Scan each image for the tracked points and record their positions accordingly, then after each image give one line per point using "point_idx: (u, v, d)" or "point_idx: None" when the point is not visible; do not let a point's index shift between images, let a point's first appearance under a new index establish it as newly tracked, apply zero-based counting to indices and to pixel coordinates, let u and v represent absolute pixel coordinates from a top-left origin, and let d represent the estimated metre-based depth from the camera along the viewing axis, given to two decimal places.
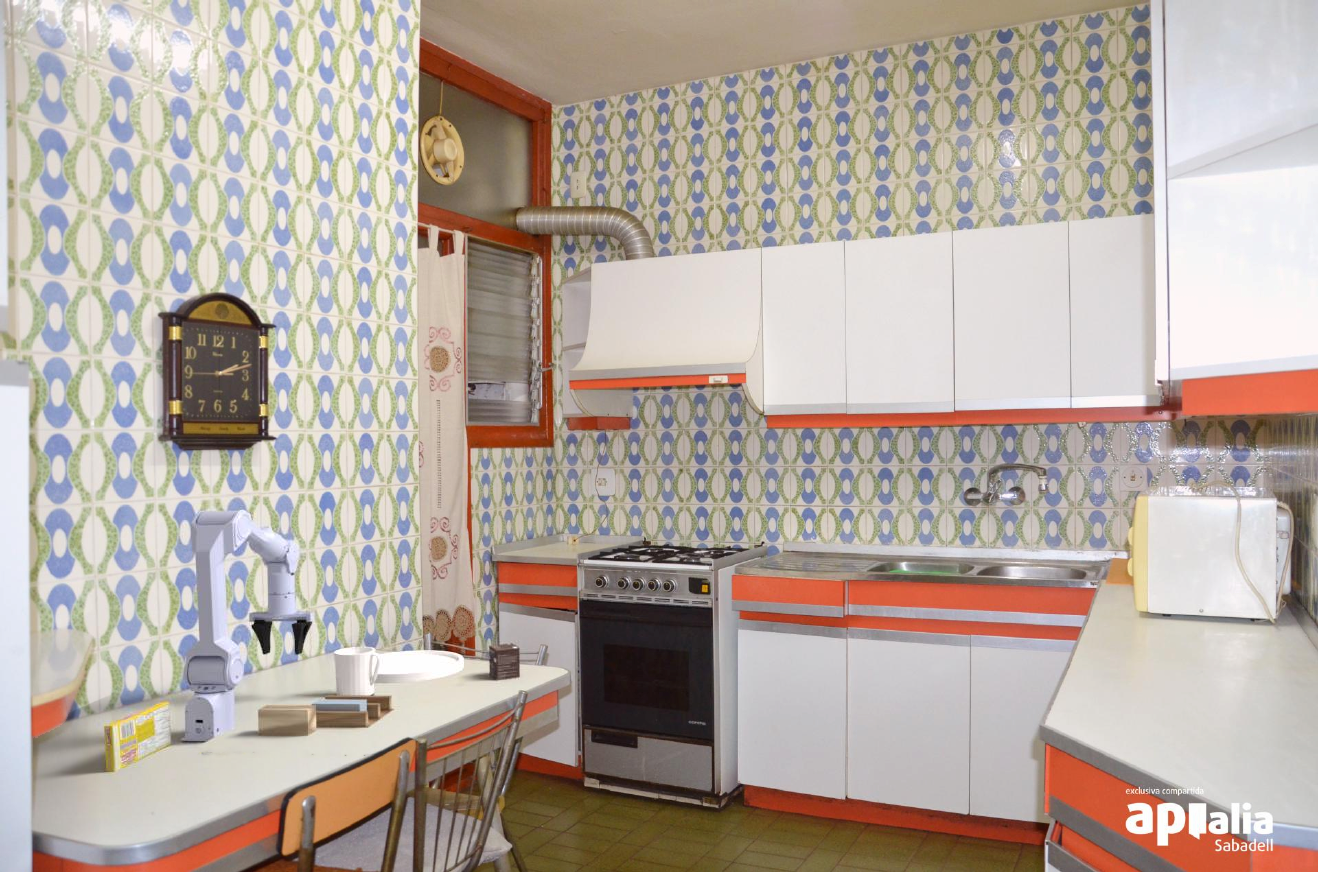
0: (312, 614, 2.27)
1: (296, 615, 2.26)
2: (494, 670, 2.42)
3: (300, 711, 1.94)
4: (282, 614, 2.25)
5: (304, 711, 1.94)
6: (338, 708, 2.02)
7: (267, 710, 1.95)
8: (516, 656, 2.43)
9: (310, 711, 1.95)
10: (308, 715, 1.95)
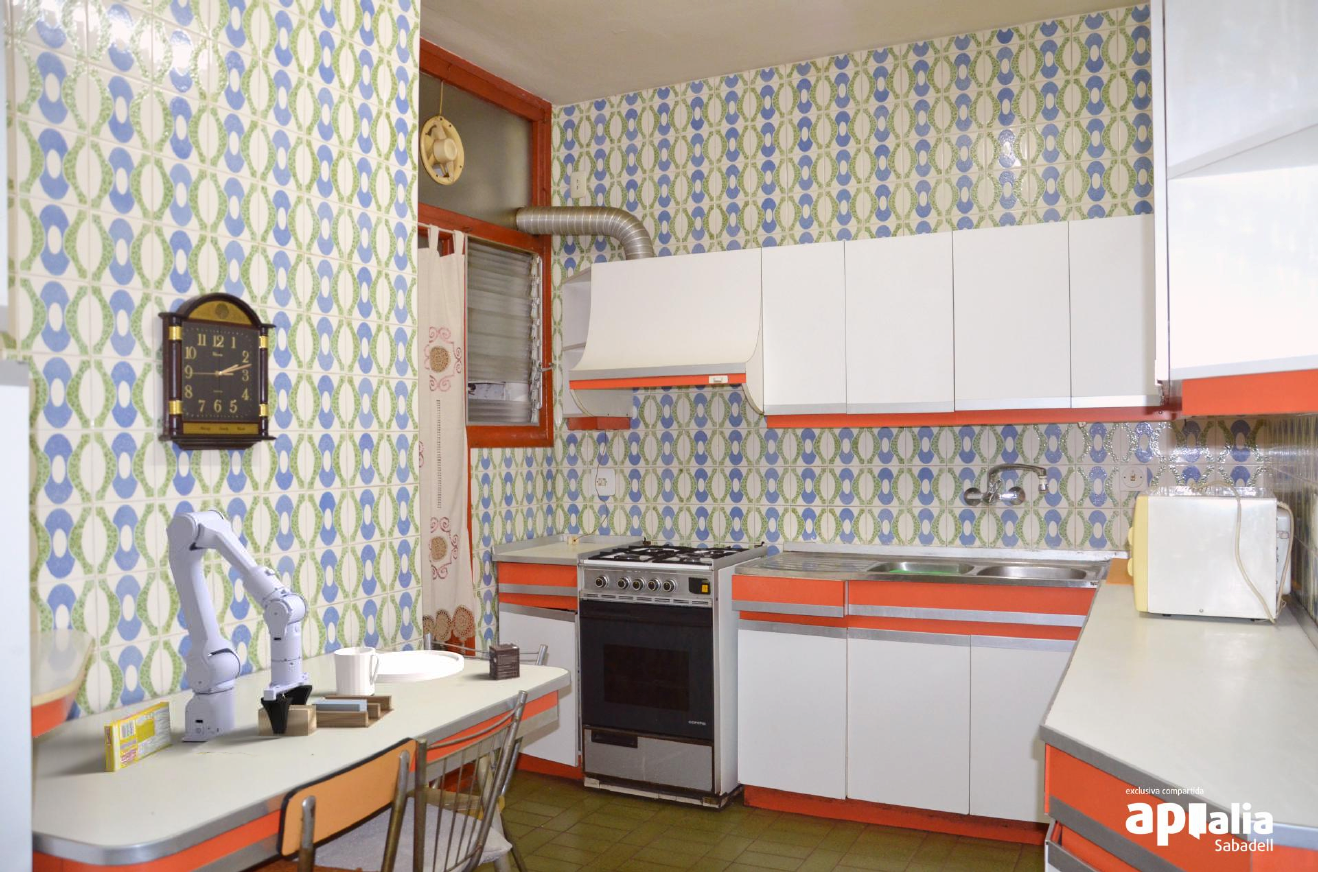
0: (269, 693, 1.89)
1: None
2: (494, 670, 2.42)
3: (300, 711, 1.94)
4: (270, 682, 1.95)
5: (304, 711, 1.94)
6: (338, 708, 2.02)
7: None
8: (516, 656, 2.43)
9: (310, 711, 1.96)
10: (308, 715, 1.95)
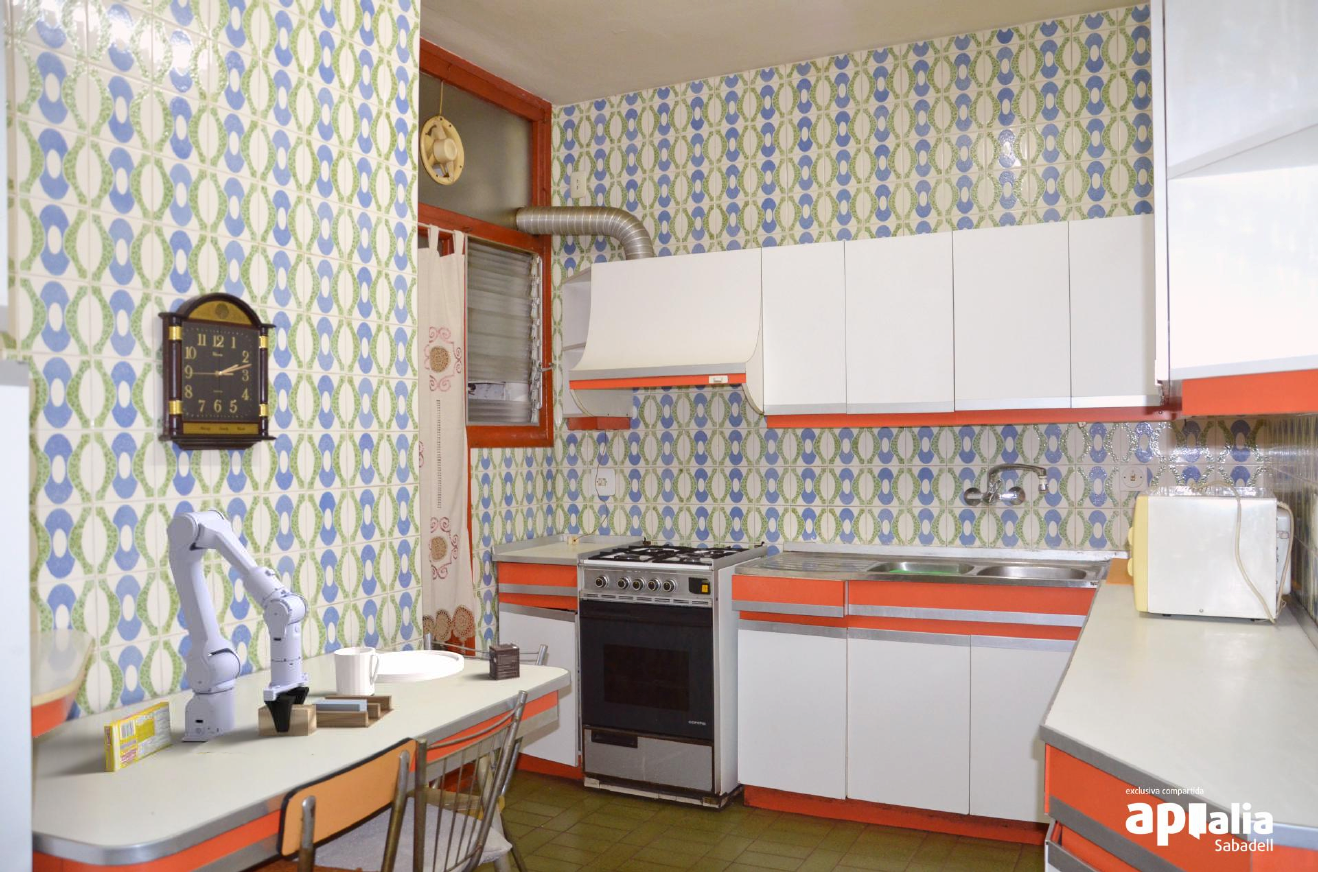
0: (269, 693, 1.89)
1: None
2: (494, 670, 2.42)
3: (300, 710, 1.94)
4: (270, 682, 1.95)
5: (304, 710, 1.94)
6: (338, 708, 2.02)
7: (267, 709, 1.95)
8: (516, 656, 2.43)
9: (310, 710, 1.96)
10: (308, 715, 1.95)
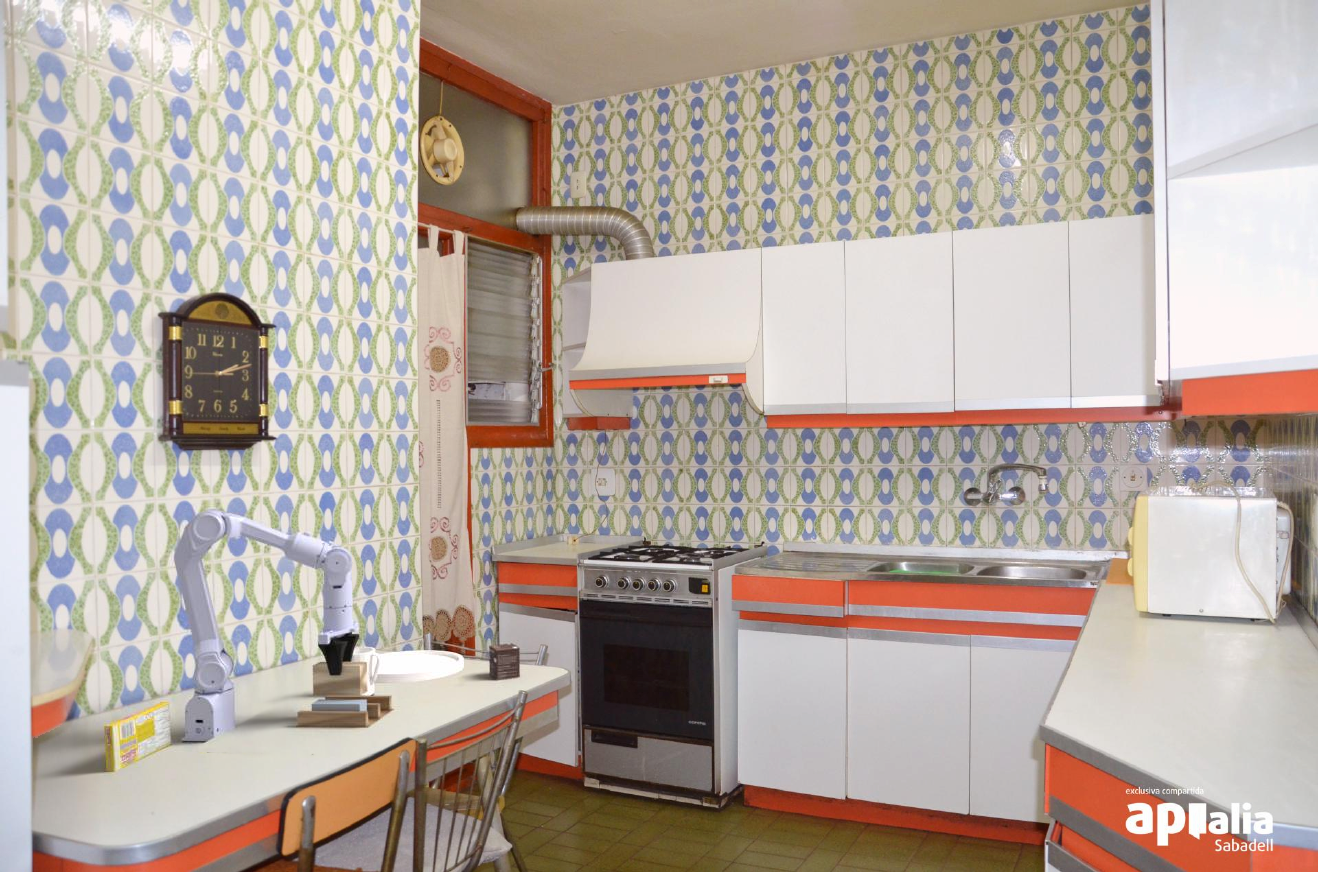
0: (323, 637, 2.00)
1: (321, 633, 2.03)
2: (494, 670, 2.42)
3: (353, 667, 2.05)
4: (323, 629, 2.06)
5: (356, 667, 2.05)
6: (338, 708, 2.02)
7: (321, 666, 2.06)
8: (516, 656, 2.43)
9: (362, 667, 2.06)
10: (360, 671, 2.05)
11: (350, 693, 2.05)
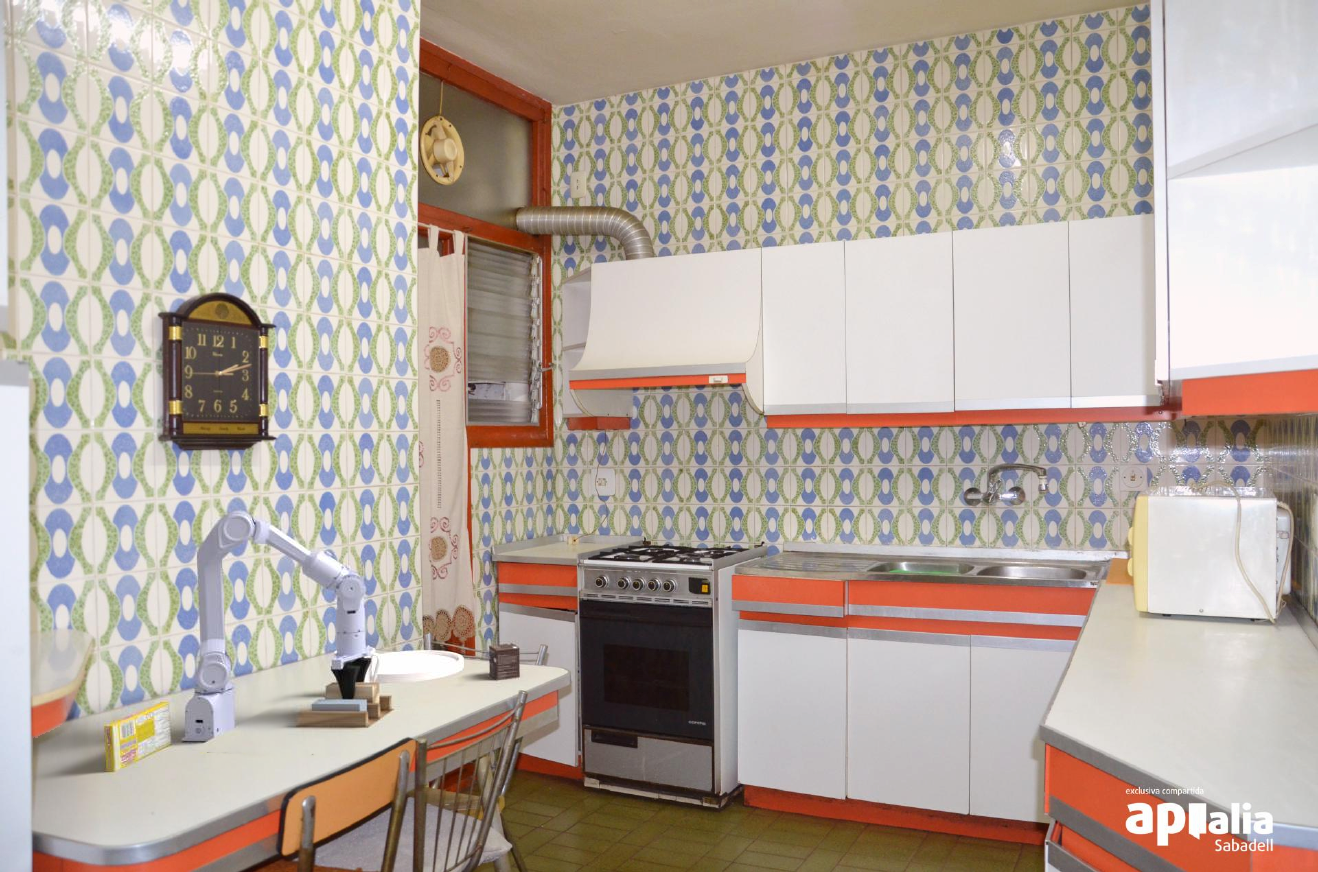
0: (337, 662, 2.03)
1: (334, 658, 2.06)
2: (494, 670, 2.42)
3: (365, 687, 2.08)
4: (336, 653, 2.09)
5: (369, 687, 2.07)
6: (338, 708, 2.02)
7: (334, 686, 2.08)
8: (516, 656, 2.43)
9: (375, 687, 2.09)
10: (373, 691, 2.08)
11: None
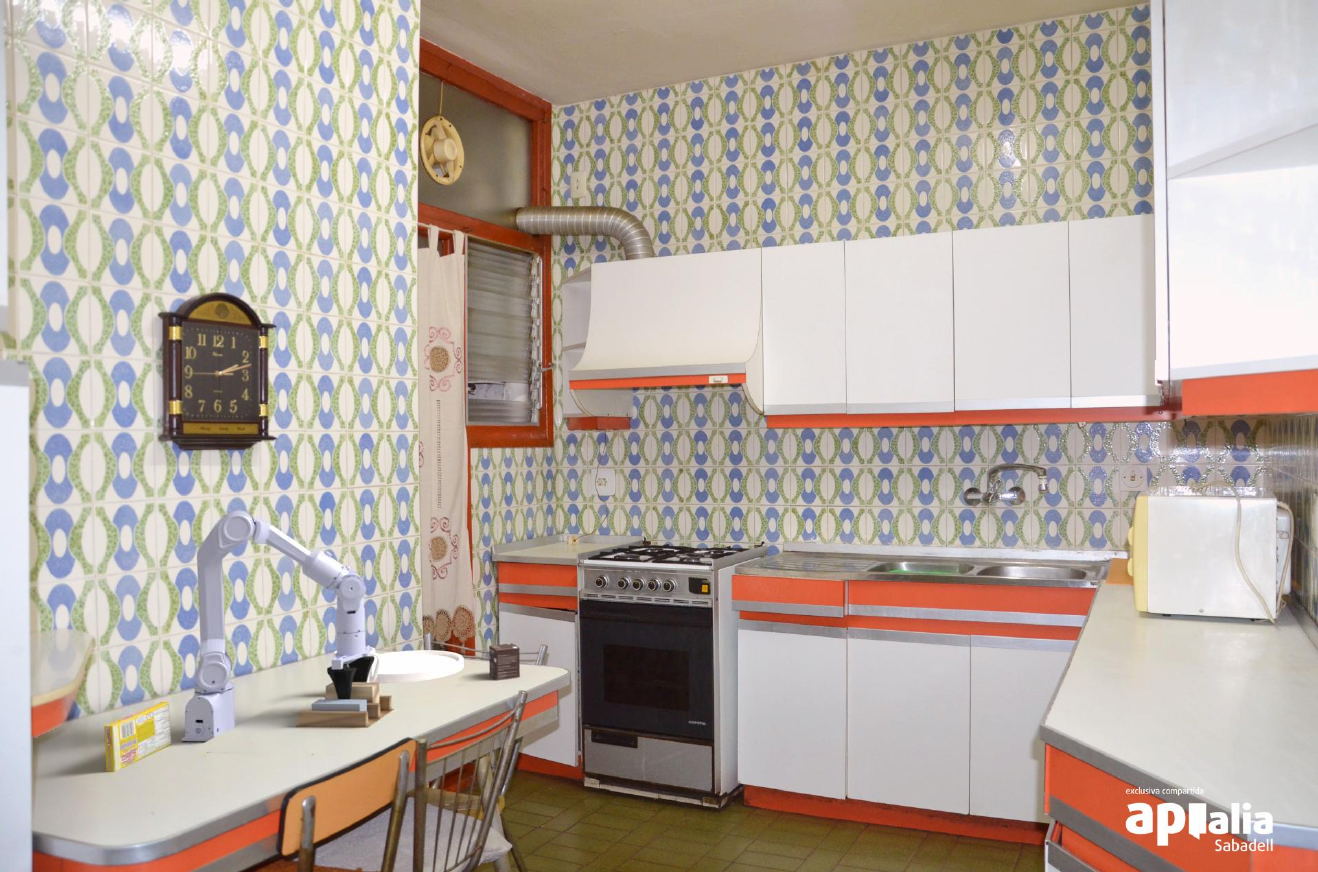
0: (336, 662, 2.03)
1: (334, 658, 2.06)
2: (494, 670, 2.42)
3: (365, 687, 2.08)
4: (336, 653, 2.09)
5: (369, 687, 2.07)
6: (338, 708, 2.02)
7: (334, 686, 2.08)
8: (516, 656, 2.43)
9: (375, 687, 2.09)
10: (373, 691, 2.08)
11: None
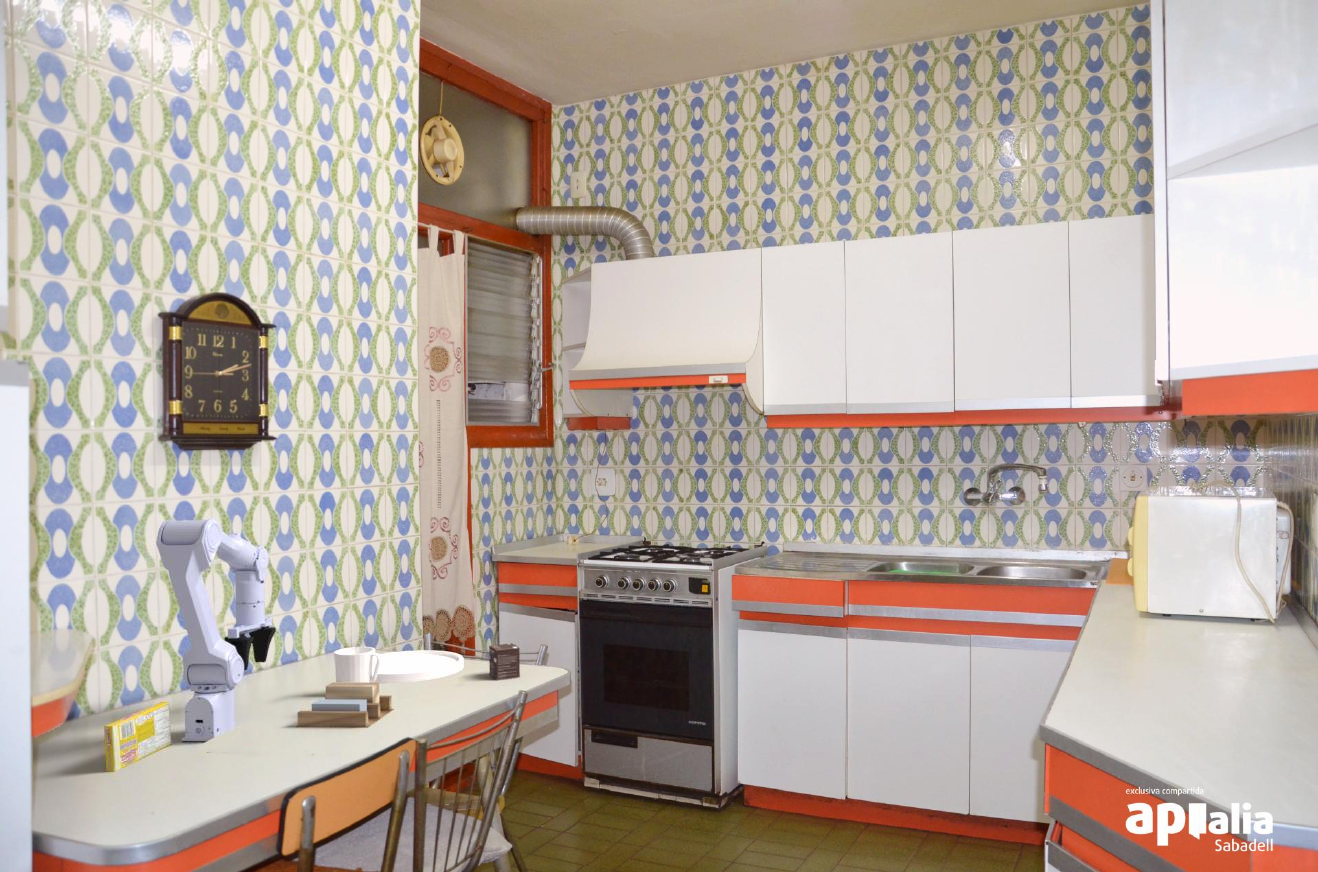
0: (232, 631, 2.09)
1: None
2: (494, 670, 2.42)
3: (365, 687, 2.08)
4: None
5: (369, 687, 2.07)
6: (338, 708, 2.02)
7: (334, 686, 2.08)
8: (516, 656, 2.43)
9: (375, 687, 2.09)
10: (373, 691, 2.08)
11: None
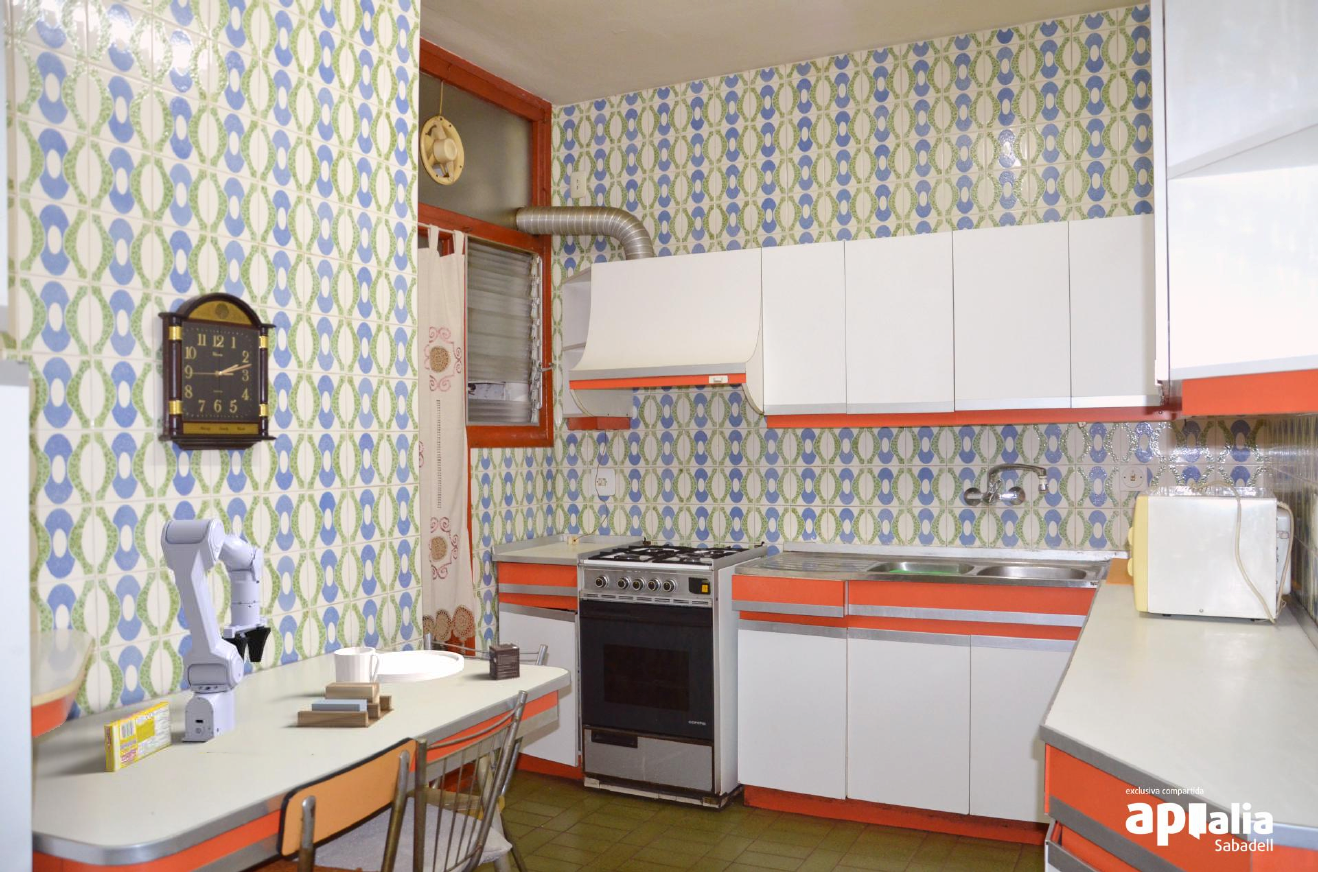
0: (228, 631, 2.09)
1: (227, 628, 2.12)
2: (494, 670, 2.42)
3: (365, 687, 2.08)
4: None
5: (369, 687, 2.07)
6: (338, 708, 2.02)
7: (334, 686, 2.08)
8: (516, 656, 2.43)
9: (375, 687, 2.09)
10: (373, 691, 2.08)
11: None
